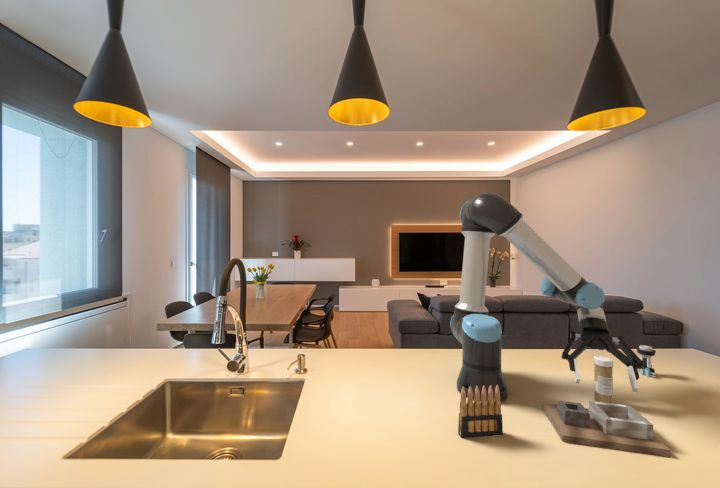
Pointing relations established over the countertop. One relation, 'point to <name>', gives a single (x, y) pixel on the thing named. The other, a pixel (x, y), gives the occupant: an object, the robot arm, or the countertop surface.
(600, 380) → the sprinkles bottle
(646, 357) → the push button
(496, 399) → the ammunition clip
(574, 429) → the socket board
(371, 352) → the countertop surface
